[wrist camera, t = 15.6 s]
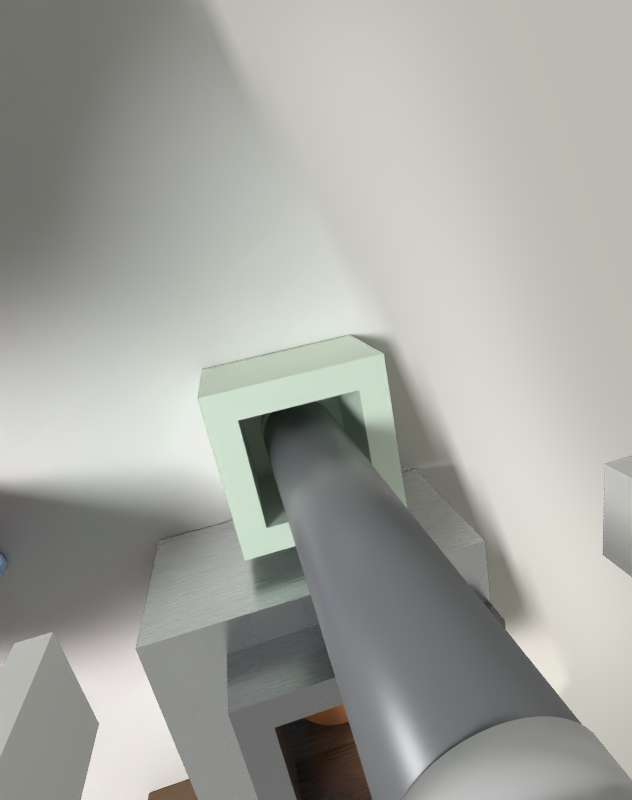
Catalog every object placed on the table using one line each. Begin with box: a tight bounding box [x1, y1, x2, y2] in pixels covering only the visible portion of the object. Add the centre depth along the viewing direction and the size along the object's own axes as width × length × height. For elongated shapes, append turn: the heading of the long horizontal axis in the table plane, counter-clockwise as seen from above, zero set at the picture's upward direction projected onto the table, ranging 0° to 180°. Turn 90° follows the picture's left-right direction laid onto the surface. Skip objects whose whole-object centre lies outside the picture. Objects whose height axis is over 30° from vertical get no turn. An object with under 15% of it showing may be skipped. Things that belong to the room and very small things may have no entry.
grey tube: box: [261, 400, 632, 800], centre depth 14 cm, size 4×4×18 cm
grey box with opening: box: [136, 469, 505, 800], centre depth 22 cm, size 14×11×10 cm
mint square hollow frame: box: [197, 335, 407, 561], centre depth 21 cm, size 7×7×5 cm
